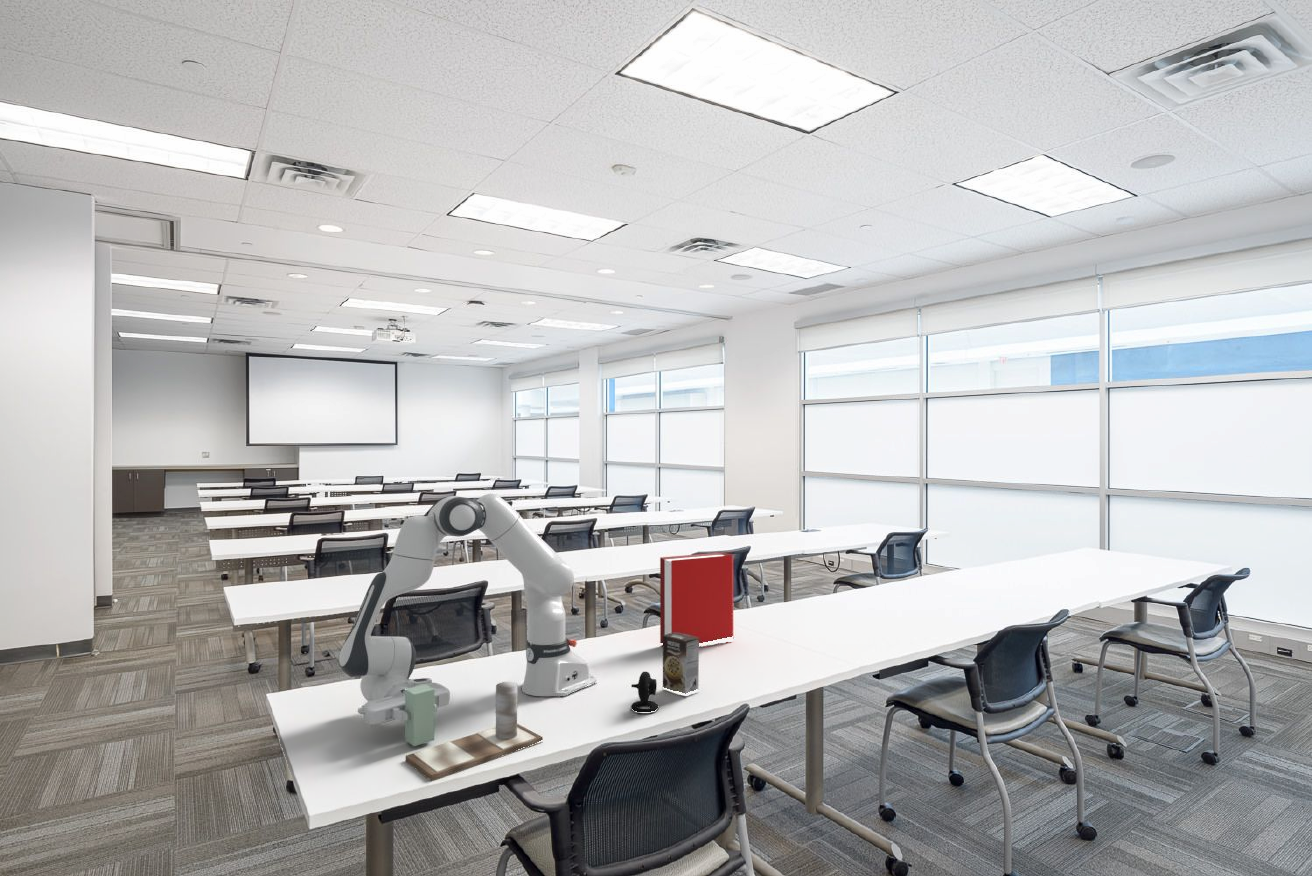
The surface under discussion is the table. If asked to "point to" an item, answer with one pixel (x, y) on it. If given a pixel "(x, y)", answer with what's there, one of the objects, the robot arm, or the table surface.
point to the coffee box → (680, 662)
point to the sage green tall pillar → (419, 714)
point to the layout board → (478, 741)
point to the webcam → (645, 693)
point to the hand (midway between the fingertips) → (421, 713)
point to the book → (697, 595)
